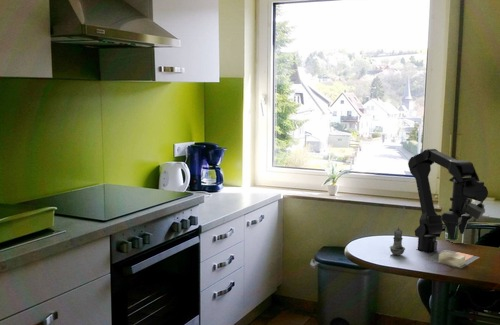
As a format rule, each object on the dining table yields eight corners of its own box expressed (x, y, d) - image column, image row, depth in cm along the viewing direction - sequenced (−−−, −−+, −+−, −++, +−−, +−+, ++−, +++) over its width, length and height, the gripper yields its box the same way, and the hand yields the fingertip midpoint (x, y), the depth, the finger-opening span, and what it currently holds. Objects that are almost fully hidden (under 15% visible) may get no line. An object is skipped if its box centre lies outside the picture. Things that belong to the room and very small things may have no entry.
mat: (424, 260, 200) (424, 259, 200) (444, 250, 213) (444, 249, 213) (460, 269, 191) (460, 268, 191) (479, 258, 204) (479, 257, 204)
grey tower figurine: (391, 253, 209) (392, 224, 208) (406, 255, 206) (407, 226, 205) (387, 257, 204) (388, 227, 203) (402, 260, 201) (404, 229, 200)
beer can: (450, 241, 226) (451, 214, 225) (442, 238, 231) (444, 211, 230) (460, 241, 228) (462, 214, 226) (452, 237, 233) (454, 211, 231)
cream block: (438, 261, 198) (438, 254, 197) (444, 258, 201) (444, 251, 201) (459, 266, 192) (459, 259, 192) (464, 263, 196) (465, 256, 195)
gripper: (473, 203, 181) (470, 246, 183) (491, 195, 194) (488, 235, 197) (442, 197, 188) (438, 239, 190) (461, 190, 202) (458, 229, 204)
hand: (457, 236), depth 195 cm, fingers open, 9 cm apart
